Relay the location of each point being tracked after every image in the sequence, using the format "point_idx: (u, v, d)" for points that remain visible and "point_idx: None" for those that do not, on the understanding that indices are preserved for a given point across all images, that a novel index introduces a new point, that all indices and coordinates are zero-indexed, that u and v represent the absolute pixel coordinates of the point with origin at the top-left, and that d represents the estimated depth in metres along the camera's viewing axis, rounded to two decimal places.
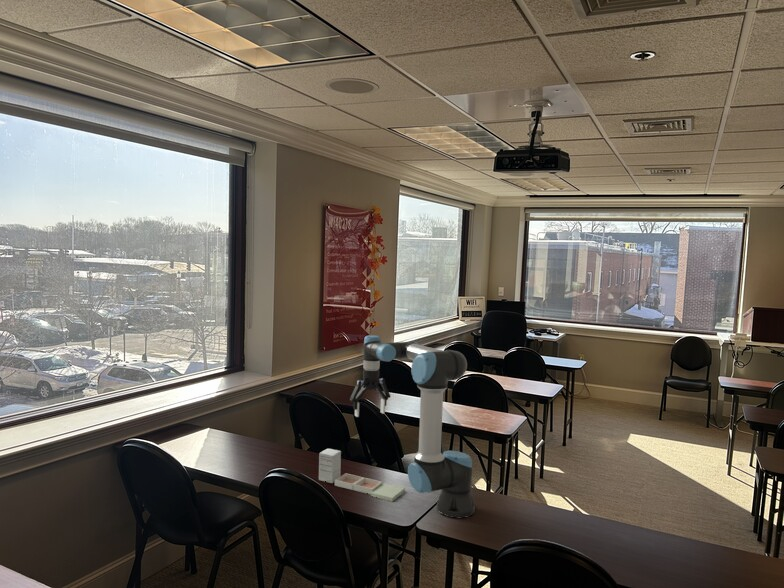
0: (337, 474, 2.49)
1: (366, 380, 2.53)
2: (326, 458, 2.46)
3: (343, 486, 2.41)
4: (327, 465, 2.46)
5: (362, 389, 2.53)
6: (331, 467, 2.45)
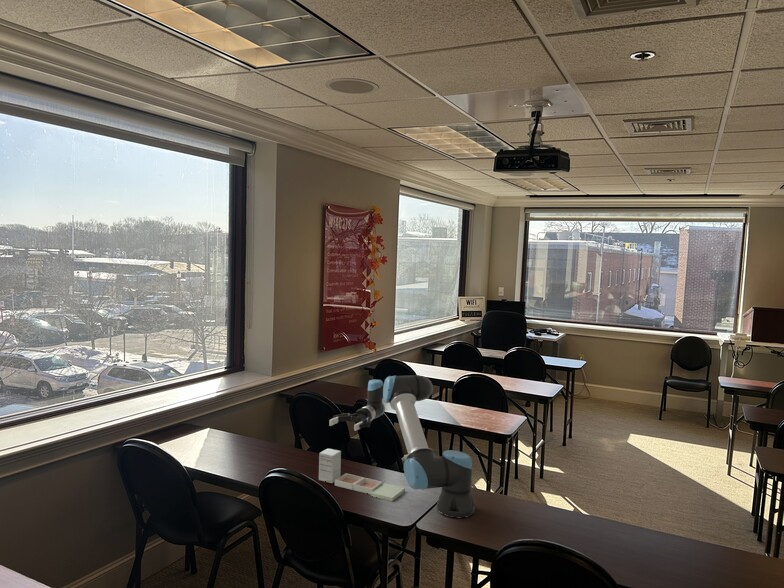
0: (337, 474, 2.49)
1: None
2: (326, 458, 2.46)
3: (343, 486, 2.41)
4: (327, 465, 2.46)
5: None
6: (331, 467, 2.45)
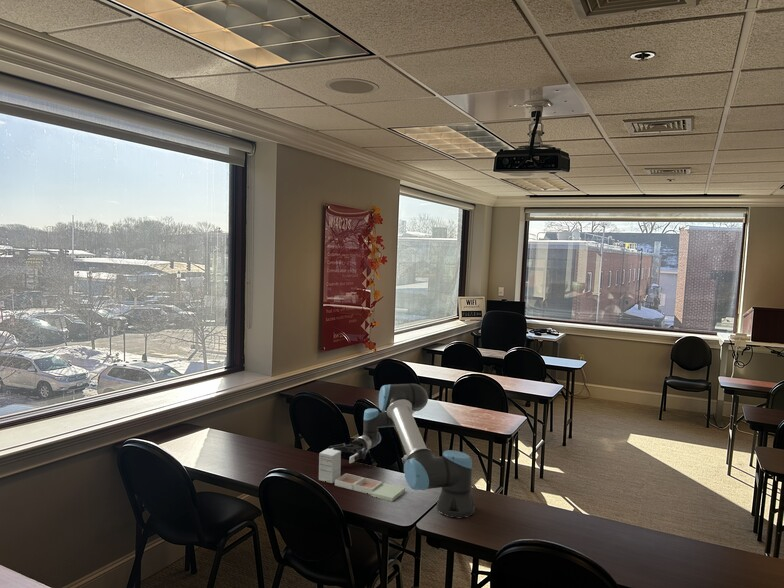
0: (337, 474, 2.49)
1: None
2: (326, 458, 2.46)
3: (343, 486, 2.41)
4: (327, 465, 2.46)
5: None
6: (331, 467, 2.45)
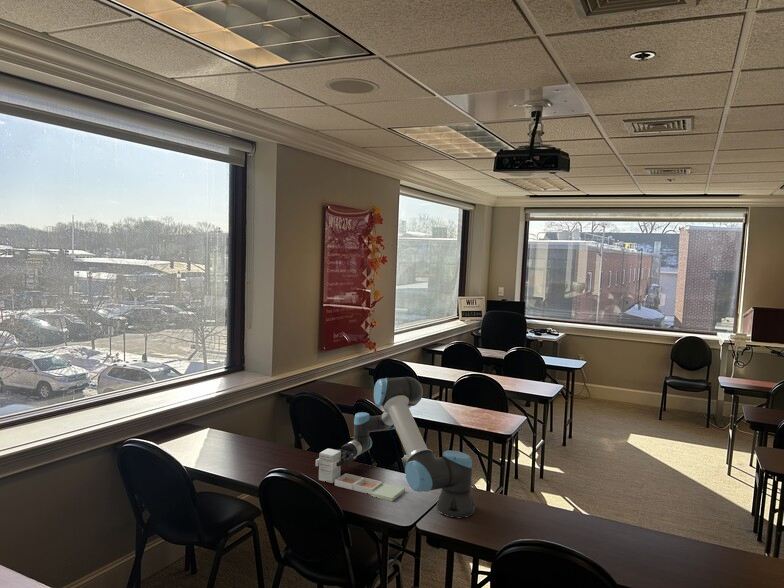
0: (337, 474, 2.49)
1: None
2: (326, 458, 2.46)
3: (343, 486, 2.41)
4: (327, 465, 2.46)
5: None
6: None
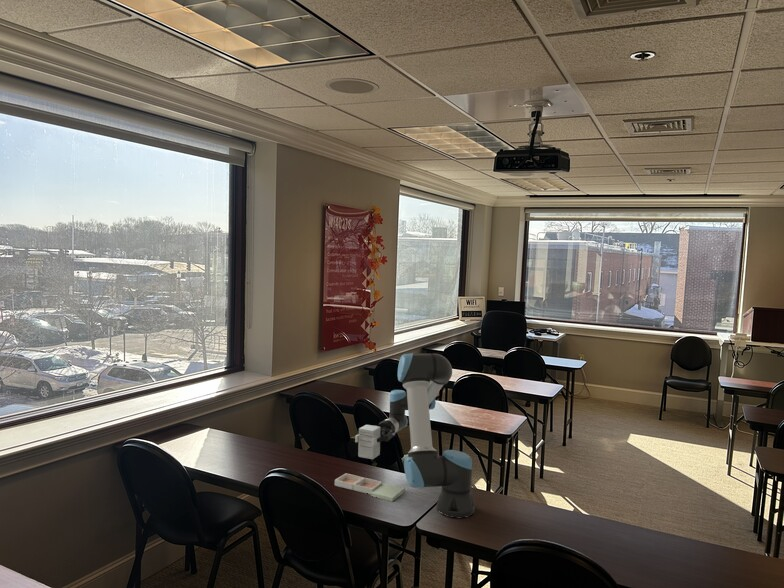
0: (377, 450, 2.42)
1: None
2: (366, 433, 2.39)
3: (343, 486, 2.41)
4: (367, 441, 2.39)
5: None
6: None
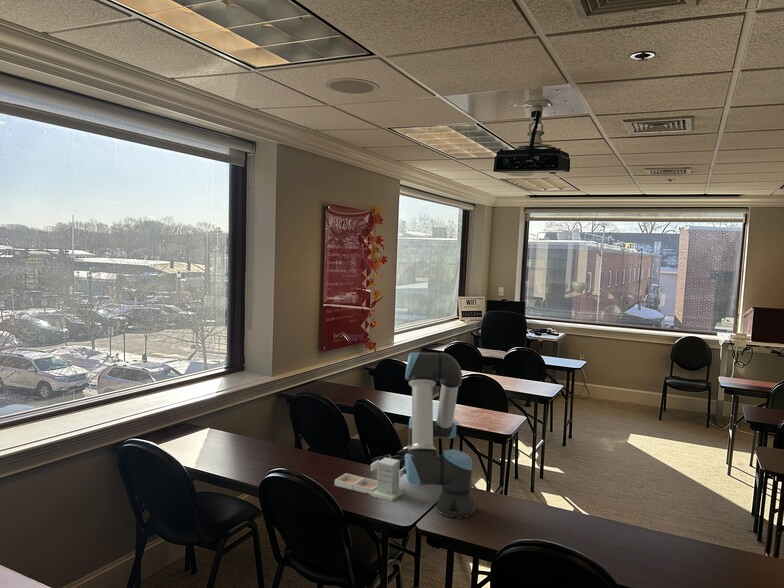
0: (396, 485, 2.35)
1: None
2: (385, 467, 2.32)
3: (343, 486, 2.41)
4: (386, 476, 2.32)
5: None
6: (391, 477, 2.31)
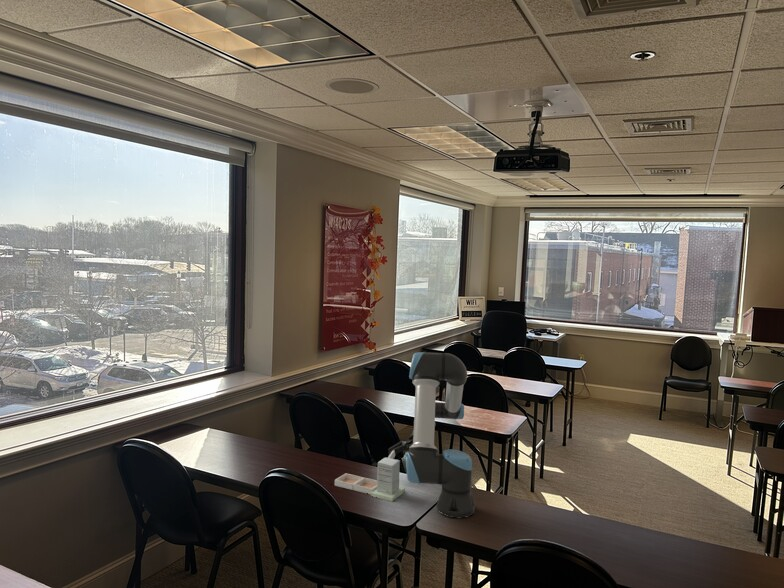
0: (396, 485, 2.35)
1: (409, 440, 2.60)
2: (385, 467, 2.32)
3: (343, 486, 2.41)
4: (386, 476, 2.32)
5: None
6: (391, 477, 2.31)
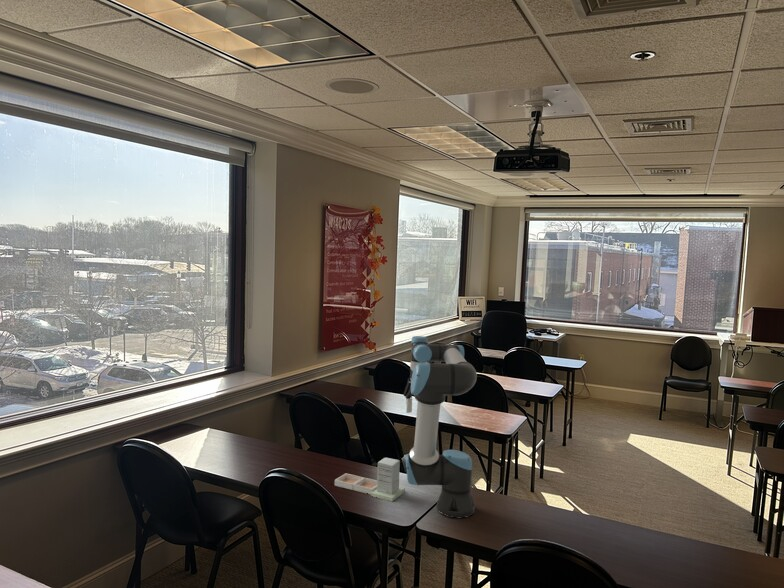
0: (396, 485, 2.35)
1: None
2: (385, 467, 2.32)
3: (343, 486, 2.41)
4: (386, 476, 2.32)
5: None
6: (391, 477, 2.31)
